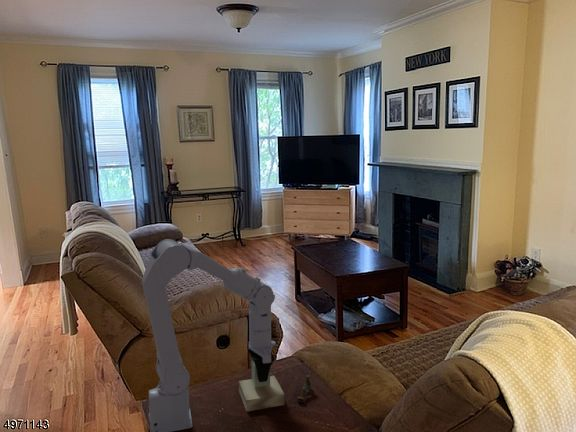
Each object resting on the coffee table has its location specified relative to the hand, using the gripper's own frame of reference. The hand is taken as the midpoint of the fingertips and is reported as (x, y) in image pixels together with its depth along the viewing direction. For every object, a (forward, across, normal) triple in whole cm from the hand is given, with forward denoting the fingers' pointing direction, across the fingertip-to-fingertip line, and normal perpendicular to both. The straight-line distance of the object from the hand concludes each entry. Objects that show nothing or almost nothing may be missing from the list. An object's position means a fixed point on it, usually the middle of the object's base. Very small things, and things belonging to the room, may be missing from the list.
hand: (260, 376), depth 113 cm
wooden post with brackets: (+6, -2, -11) cm, 13 cm away
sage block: (+2, 0, 0) cm, 2 cm away
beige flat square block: (+6, 0, 0) cm, 6 cm away
